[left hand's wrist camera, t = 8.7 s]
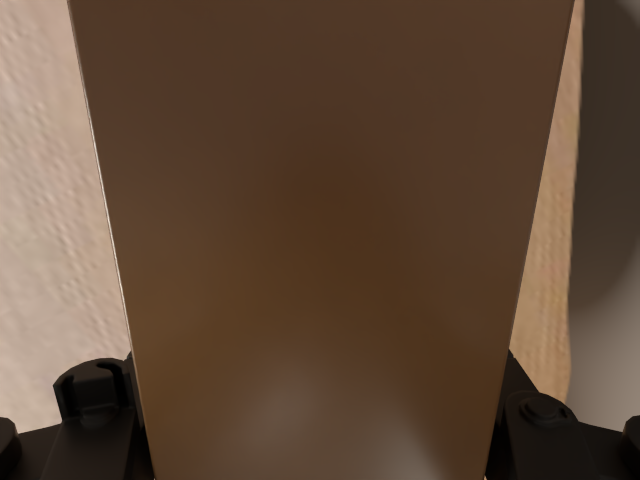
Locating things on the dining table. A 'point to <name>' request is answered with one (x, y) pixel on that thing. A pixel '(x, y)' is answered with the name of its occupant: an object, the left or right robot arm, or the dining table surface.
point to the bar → (320, 222)
